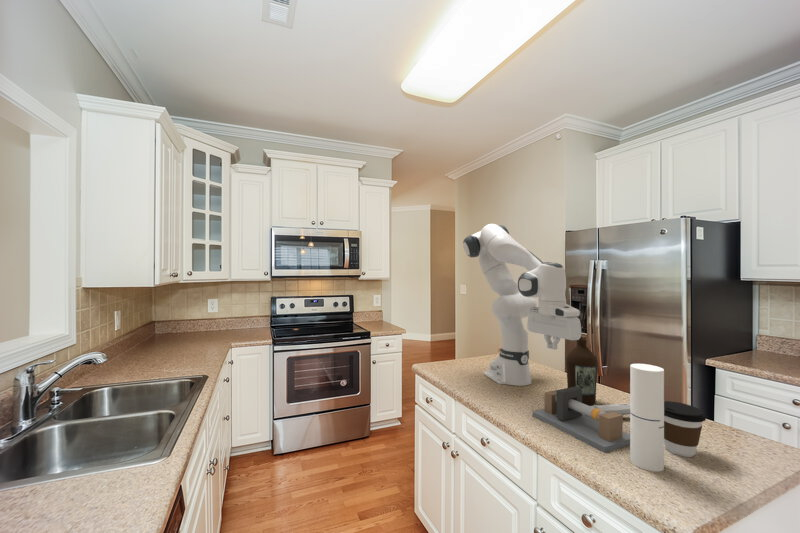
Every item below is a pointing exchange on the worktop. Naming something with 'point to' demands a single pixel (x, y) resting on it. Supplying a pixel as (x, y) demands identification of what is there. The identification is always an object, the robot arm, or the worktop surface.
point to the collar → (562, 402)
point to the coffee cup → (682, 428)
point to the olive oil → (582, 371)
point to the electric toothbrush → (614, 408)
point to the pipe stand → (586, 424)
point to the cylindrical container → (647, 416)
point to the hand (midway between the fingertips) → (552, 348)
